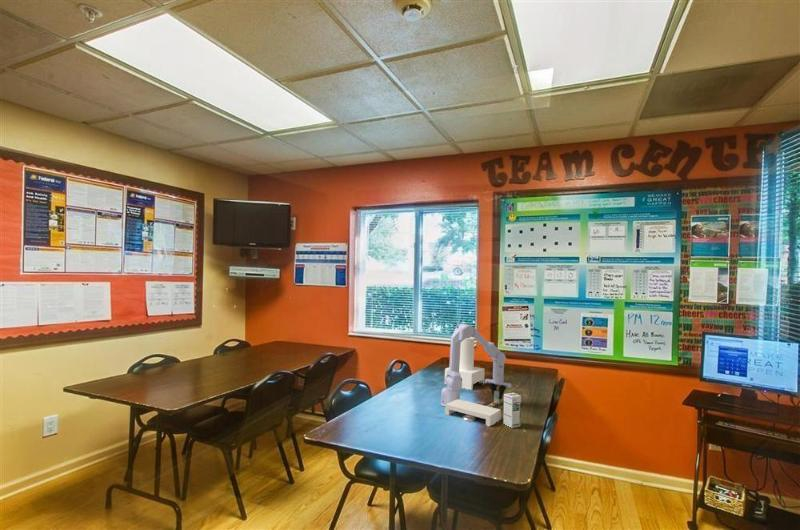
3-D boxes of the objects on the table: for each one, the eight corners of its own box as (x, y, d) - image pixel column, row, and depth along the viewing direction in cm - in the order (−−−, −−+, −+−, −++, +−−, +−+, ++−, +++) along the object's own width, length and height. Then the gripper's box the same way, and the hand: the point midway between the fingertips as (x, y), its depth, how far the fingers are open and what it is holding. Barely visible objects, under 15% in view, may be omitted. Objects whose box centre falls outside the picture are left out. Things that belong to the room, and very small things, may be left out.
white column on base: (458, 378, 275) (459, 334, 275) (484, 384, 264) (485, 337, 264) (444, 384, 260) (445, 337, 260) (471, 390, 249) (472, 340, 249)
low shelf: (445, 414, 203) (445, 404, 203) (457, 408, 212) (457, 399, 213) (489, 426, 188) (490, 415, 188) (500, 419, 198) (500, 409, 198)
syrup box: (511, 428, 187) (512, 396, 187) (502, 424, 192) (503, 393, 193) (520, 426, 190) (521, 395, 190) (512, 422, 195) (512, 391, 195)
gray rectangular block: (493, 401, 226) (493, 389, 226) (503, 404, 223) (504, 391, 223) (475, 411, 209) (475, 397, 209) (486, 414, 206) (486, 400, 206)
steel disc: (459, 419, 197) (460, 417, 197) (466, 417, 201) (466, 414, 201) (470, 422, 193) (470, 420, 193) (477, 419, 197) (477, 417, 197)
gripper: (513, 374, 222) (513, 399, 222) (489, 369, 231) (488, 394, 231) (508, 376, 217) (507, 402, 216) (483, 372, 226) (482, 396, 225)
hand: (497, 398), depth 223 cm, fingers closed on gray rectangular block, 3 cm apart
